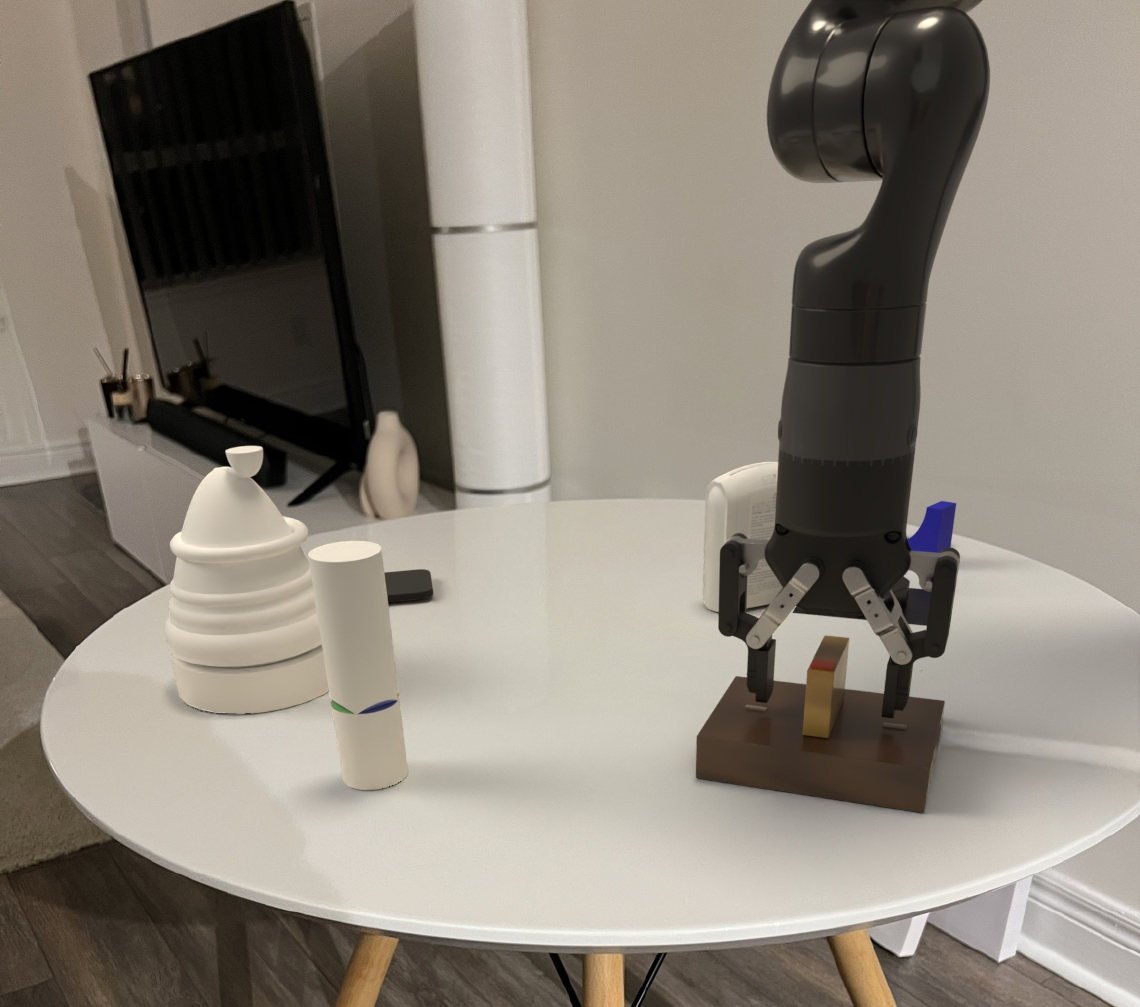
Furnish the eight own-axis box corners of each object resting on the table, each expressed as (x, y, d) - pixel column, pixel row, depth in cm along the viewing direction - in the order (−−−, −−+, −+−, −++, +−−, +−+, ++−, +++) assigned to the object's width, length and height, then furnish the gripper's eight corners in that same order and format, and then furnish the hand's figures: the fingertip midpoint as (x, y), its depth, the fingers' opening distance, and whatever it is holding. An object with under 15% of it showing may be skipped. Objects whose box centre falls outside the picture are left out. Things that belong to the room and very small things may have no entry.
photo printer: (789, 585, 101) (797, 452, 95) (816, 598, 97) (827, 460, 92) (694, 604, 97) (697, 466, 92) (720, 618, 94) (724, 476, 88)
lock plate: (939, 741, 72) (945, 698, 70) (924, 813, 63) (930, 766, 62) (734, 714, 76) (735, 673, 75) (695, 778, 68) (696, 733, 67)
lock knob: (819, 697, 71) (824, 631, 69) (844, 700, 71) (849, 633, 69) (802, 735, 66) (807, 665, 64) (828, 738, 66) (834, 668, 64)
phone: (276, 582, 105) (429, 567, 107) (277, 590, 105) (430, 575, 107) (269, 606, 98) (433, 591, 100) (271, 615, 99) (434, 599, 100)
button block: (936, 608, 94) (941, 570, 92) (926, 644, 87) (931, 603, 85) (810, 597, 98) (813, 560, 96) (791, 631, 91) (793, 591, 89)
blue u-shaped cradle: (817, 553, 110) (821, 494, 107) (840, 543, 112) (845, 485, 110) (926, 575, 102) (934, 513, 99) (948, 564, 105) (956, 503, 102)
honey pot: (370, 655, 89) (341, 432, 81) (295, 721, 78) (252, 471, 70) (234, 645, 92) (192, 430, 84) (143, 706, 81) (85, 466, 73)
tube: (352, 758, 72) (321, 541, 65) (414, 759, 72) (389, 540, 65) (333, 789, 69) (298, 562, 62) (399, 790, 68) (370, 562, 61)
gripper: (984, 433, 61) (947, 696, 69) (738, 424, 66) (729, 670, 74) (976, 461, 55) (937, 746, 63) (705, 449, 60) (699, 715, 68)
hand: (824, 705), depth 68 cm, fingers open, 7 cm apart
